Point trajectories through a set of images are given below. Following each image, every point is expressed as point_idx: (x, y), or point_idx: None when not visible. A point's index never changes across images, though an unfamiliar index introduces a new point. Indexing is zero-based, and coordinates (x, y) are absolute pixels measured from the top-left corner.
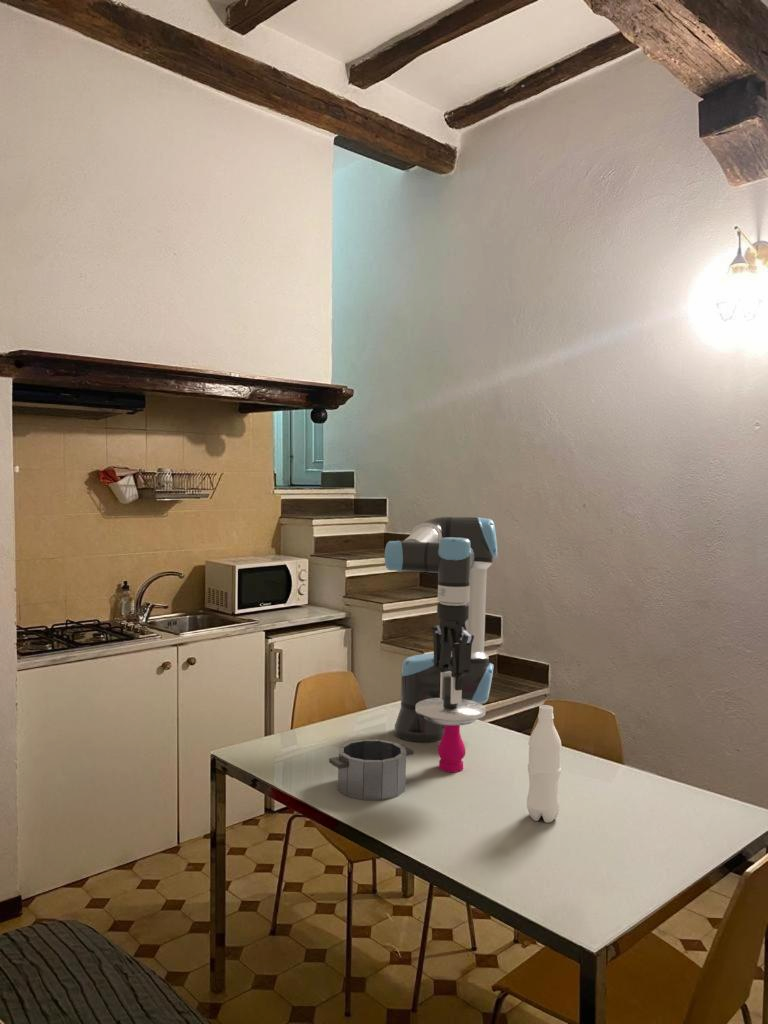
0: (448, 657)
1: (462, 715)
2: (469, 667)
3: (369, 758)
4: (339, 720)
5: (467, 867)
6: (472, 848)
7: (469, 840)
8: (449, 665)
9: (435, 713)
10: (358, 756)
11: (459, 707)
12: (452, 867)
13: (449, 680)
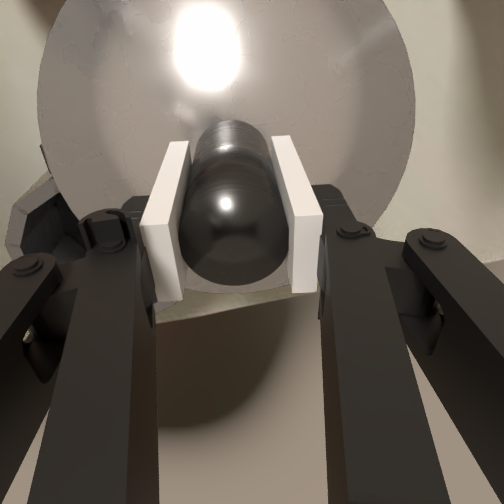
0: (141, 354)
1: (373, 184)
2: (487, 278)
3: (43, 209)
4: None
5: (491, 229)
6: (459, 187)
7: (435, 174)
8: (137, 266)
9: (285, 263)
10: (42, 238)
11: (259, 117)
12: (473, 247)
13: (269, 270)
